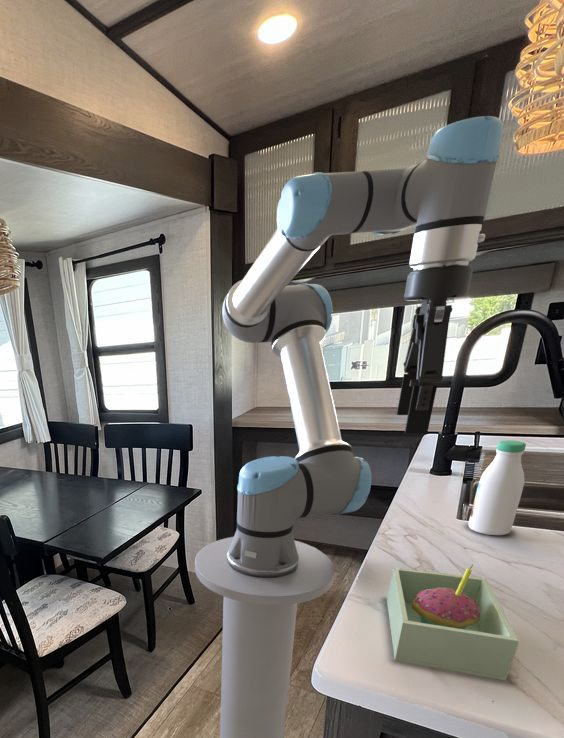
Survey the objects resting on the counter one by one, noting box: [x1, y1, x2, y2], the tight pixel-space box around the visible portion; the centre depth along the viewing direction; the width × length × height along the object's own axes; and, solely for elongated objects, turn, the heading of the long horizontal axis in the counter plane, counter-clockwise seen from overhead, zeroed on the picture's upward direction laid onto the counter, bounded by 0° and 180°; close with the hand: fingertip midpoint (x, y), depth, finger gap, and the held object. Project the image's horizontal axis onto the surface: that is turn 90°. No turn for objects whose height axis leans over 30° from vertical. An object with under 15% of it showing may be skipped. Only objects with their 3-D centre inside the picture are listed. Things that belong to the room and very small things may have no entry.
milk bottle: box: [468, 440, 527, 536], centre depth 102 cm, size 8×8×20 cm
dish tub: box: [386, 567, 520, 682], centre depth 72 cm, size 18×13×7 cm
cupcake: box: [412, 563, 481, 629], centre depth 70 cm, size 9×8×12 cm
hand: (410, 423), depth 72 cm, fingers open, 13 cm apart
